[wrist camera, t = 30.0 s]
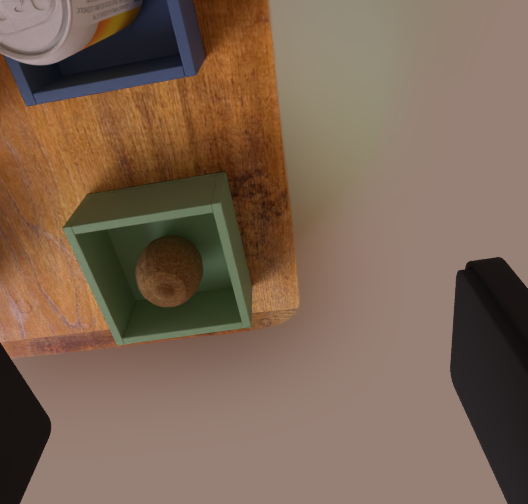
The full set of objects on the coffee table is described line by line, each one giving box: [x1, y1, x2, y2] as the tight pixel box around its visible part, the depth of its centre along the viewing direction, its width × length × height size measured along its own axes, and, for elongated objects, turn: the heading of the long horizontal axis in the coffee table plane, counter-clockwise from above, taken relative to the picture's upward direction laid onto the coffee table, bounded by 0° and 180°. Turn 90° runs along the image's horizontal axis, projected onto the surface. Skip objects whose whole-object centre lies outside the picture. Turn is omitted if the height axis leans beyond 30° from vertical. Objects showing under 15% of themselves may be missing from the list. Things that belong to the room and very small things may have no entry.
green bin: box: [63, 172, 252, 345], centre depth 44 cm, size 14×14×7 cm
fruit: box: [135, 235, 203, 307], centre depth 43 cm, size 6×6×8 cm
